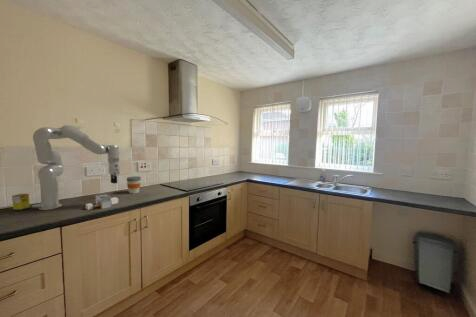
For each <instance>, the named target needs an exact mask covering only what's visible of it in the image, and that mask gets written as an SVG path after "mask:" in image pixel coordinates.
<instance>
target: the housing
mask: <svg viewBox="0 0 476 317" xmlns="http://www.w3.org/2000/svg"><path fill="white" fill-rule="evenodd" d="M111 198H112V197H111V196H110V195H108V194H106V193H99V194H95V205H96V204H100V206H99V207H100V209H107V208H111V207H112V204H111Z"/></svg>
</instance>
